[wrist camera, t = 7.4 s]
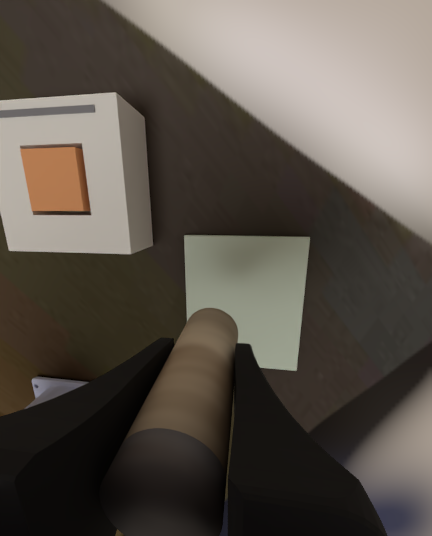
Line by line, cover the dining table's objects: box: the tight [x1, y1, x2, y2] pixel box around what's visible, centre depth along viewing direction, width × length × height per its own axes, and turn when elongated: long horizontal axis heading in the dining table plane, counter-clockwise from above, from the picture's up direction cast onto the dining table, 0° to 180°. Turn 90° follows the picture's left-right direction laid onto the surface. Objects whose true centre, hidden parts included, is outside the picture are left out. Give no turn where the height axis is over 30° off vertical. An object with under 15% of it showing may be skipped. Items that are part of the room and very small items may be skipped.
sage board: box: [184, 235, 310, 371], centre depth 20 cm, size 12×10×1 cm
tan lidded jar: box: [99, 308, 238, 536], centre depth 9 cm, size 3×3×8 cm
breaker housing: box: [0, 92, 153, 254], centre depth 18 cm, size 10×10×4 cm
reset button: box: [20, 147, 91, 211], centre depth 17 cm, size 4×4×3 cm
